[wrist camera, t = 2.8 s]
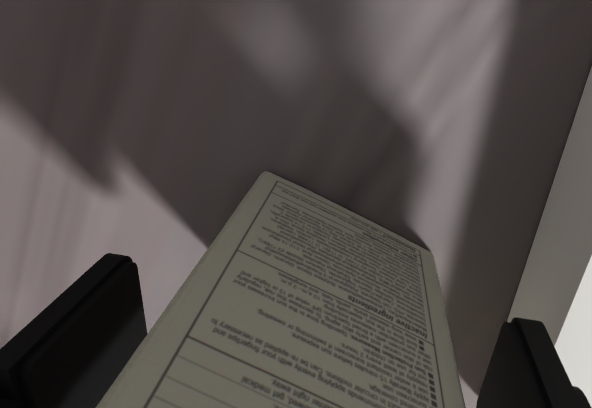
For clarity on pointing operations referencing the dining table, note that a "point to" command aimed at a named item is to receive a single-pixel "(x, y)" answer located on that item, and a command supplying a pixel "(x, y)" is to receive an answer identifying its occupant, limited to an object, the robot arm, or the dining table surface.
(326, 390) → the skincare box
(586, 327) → the socket plate
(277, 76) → the dining table surface
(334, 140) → the dining table surface
